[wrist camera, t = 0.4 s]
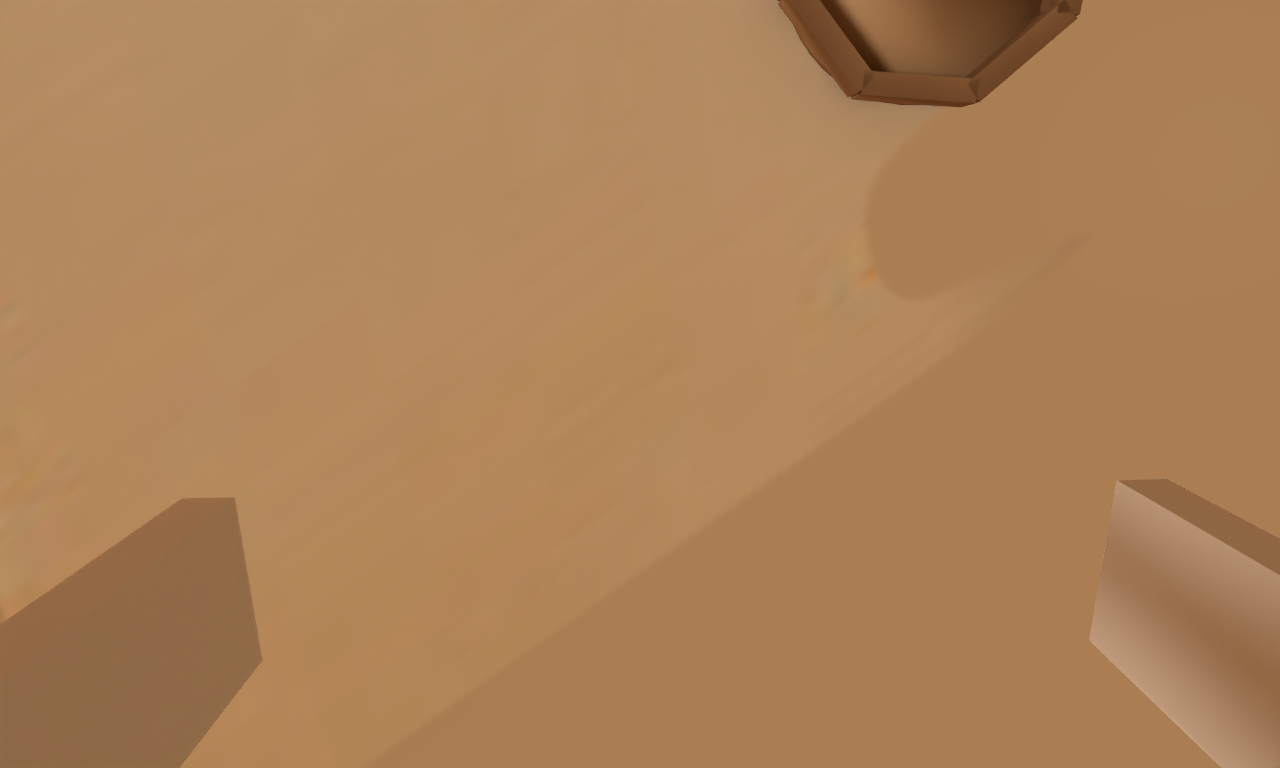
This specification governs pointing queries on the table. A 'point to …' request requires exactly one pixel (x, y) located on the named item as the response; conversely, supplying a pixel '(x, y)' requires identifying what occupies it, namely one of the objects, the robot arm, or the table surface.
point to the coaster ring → (926, 44)
